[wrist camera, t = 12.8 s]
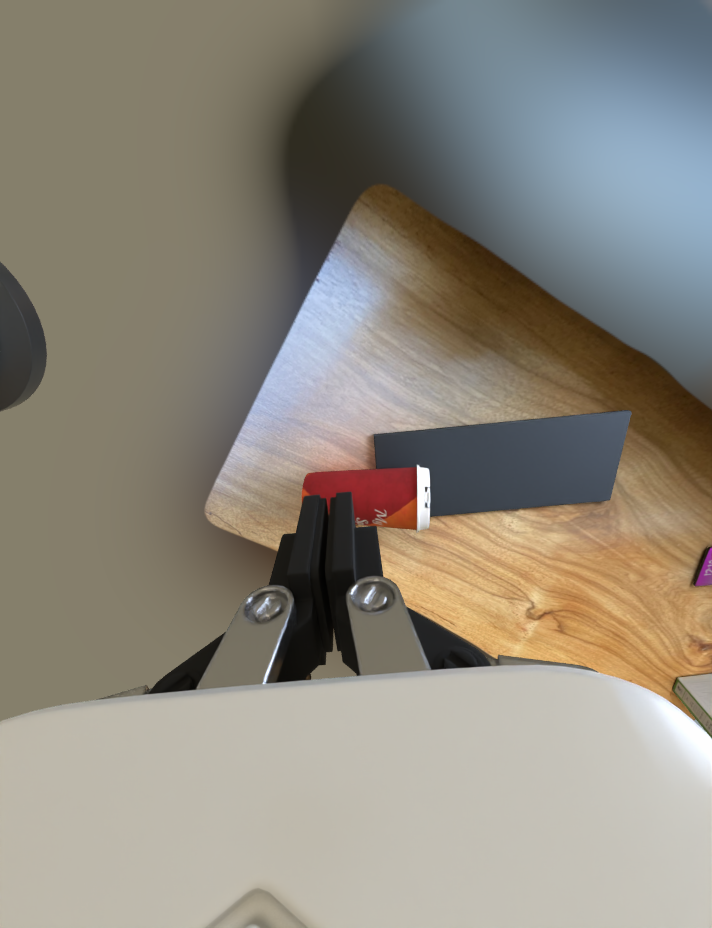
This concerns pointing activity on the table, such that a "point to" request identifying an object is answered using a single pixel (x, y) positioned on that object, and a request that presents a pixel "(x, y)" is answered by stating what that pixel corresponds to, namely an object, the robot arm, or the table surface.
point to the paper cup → (379, 495)
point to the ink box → (697, 698)
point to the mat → (512, 461)
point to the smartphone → (705, 570)
